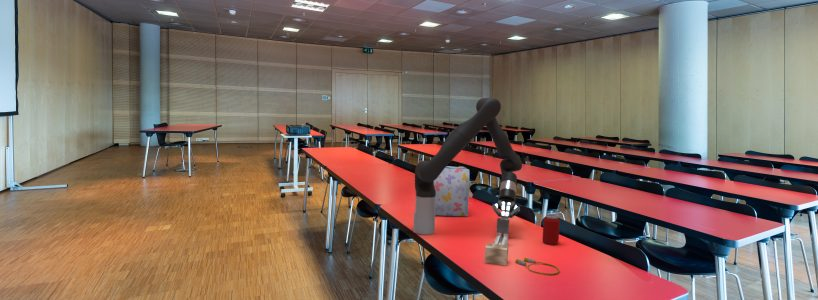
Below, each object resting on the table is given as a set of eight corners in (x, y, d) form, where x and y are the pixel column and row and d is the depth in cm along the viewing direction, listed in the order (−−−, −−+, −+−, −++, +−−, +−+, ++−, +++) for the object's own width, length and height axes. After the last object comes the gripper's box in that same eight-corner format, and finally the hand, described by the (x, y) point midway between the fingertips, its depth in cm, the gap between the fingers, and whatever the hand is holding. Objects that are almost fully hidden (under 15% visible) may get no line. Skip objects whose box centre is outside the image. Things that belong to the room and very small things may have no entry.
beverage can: (559, 242, 192) (560, 215, 191) (557, 246, 186) (559, 219, 185) (543, 239, 195) (545, 213, 194) (541, 244, 189) (542, 217, 188)
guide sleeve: (492, 253, 175) (493, 243, 174) (497, 242, 190) (497, 233, 189) (504, 254, 173) (504, 245, 173) (507, 243, 188) (508, 234, 188)
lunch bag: (464, 210, 248) (466, 164, 246) (470, 217, 231) (472, 168, 229) (425, 209, 247) (427, 163, 244) (428, 217, 230) (430, 167, 228)
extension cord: (540, 260, 170) (540, 255, 170) (566, 275, 155) (566, 269, 155) (513, 262, 166) (513, 257, 166) (537, 278, 151) (537, 272, 151)
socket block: (484, 262, 164) (485, 247, 163) (486, 257, 169) (487, 242, 169) (506, 265, 161) (506, 249, 161) (507, 260, 167) (508, 245, 166)
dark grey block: (492, 252, 174) (493, 227, 173) (497, 239, 191) (498, 217, 190) (504, 253, 172) (506, 228, 171) (508, 241, 189) (509, 218, 188)
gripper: (493, 186, 202) (488, 218, 191) (522, 189, 198) (519, 221, 187) (493, 195, 207) (489, 227, 197) (522, 198, 203) (519, 230, 193)
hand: (504, 224), depth 192 cm, fingers closed
